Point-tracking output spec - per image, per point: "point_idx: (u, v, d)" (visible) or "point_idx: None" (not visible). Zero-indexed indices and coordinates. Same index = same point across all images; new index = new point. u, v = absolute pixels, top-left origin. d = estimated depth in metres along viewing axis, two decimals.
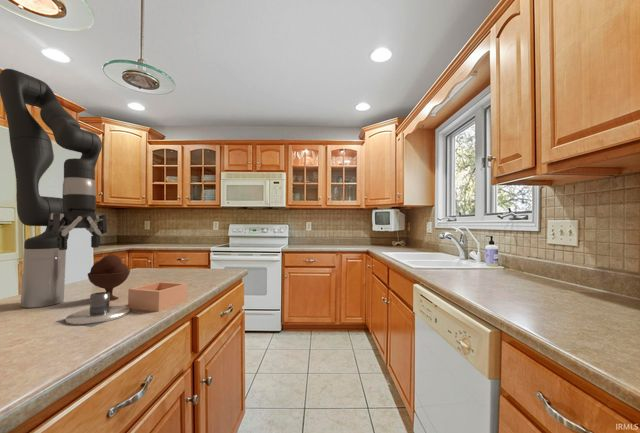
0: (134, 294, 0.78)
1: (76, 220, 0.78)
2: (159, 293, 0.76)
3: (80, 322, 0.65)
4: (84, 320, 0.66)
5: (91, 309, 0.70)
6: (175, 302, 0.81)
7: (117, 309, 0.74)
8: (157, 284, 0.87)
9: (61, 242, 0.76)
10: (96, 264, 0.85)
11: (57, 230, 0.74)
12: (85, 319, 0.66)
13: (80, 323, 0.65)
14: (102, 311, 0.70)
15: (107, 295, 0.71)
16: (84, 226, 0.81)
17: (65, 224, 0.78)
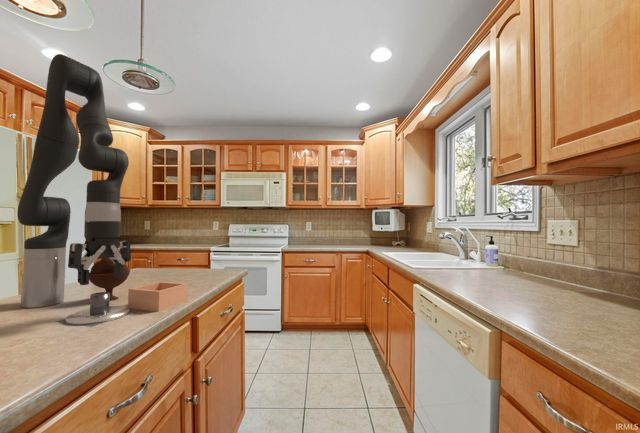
0: (134, 294, 0.78)
1: (99, 250, 0.70)
2: (159, 293, 0.76)
3: (80, 322, 0.65)
4: (84, 320, 0.66)
5: (91, 309, 0.70)
6: (175, 302, 0.81)
7: (117, 309, 0.74)
8: (157, 284, 0.87)
9: (83, 276, 0.67)
10: (96, 264, 0.85)
11: (79, 264, 0.66)
12: (85, 319, 0.66)
13: (80, 323, 0.65)
14: (102, 311, 0.70)
15: (107, 295, 0.71)
16: (107, 256, 0.72)
17: (87, 254, 0.69)
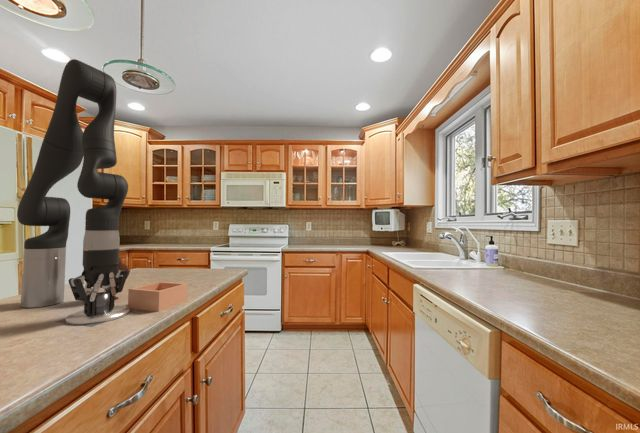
0: (134, 294, 0.78)
1: (99, 280, 0.70)
2: (159, 293, 0.76)
3: (80, 322, 0.65)
4: (84, 320, 0.66)
5: None
6: (175, 302, 0.81)
7: (117, 309, 0.74)
8: (157, 284, 0.87)
9: (89, 308, 0.68)
10: None
11: (85, 296, 0.67)
12: (85, 319, 0.66)
13: (80, 323, 0.65)
14: (102, 311, 0.70)
15: (107, 295, 0.71)
16: (105, 284, 0.72)
17: (88, 284, 0.70)
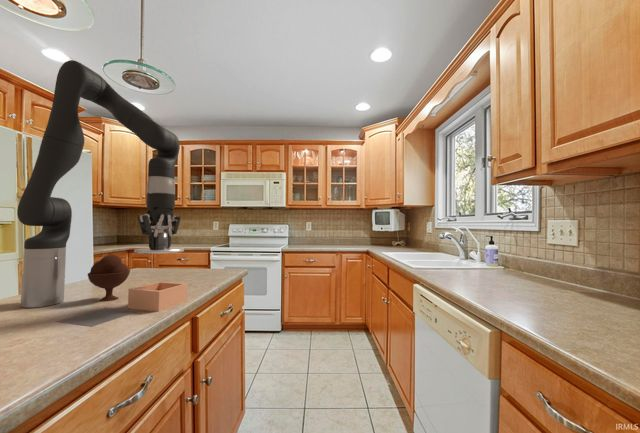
0: (134, 294, 0.78)
1: (160, 219, 0.81)
2: (159, 293, 0.76)
3: (148, 251, 0.76)
4: (151, 250, 0.77)
5: None
6: (175, 302, 0.81)
7: (173, 248, 0.86)
8: (157, 284, 0.87)
9: (153, 242, 0.80)
10: (96, 264, 0.85)
11: (151, 231, 0.78)
12: (151, 250, 0.78)
13: (148, 252, 0.76)
14: (163, 246, 0.82)
15: (166, 234, 0.83)
16: (164, 224, 0.83)
17: (151, 223, 0.81)
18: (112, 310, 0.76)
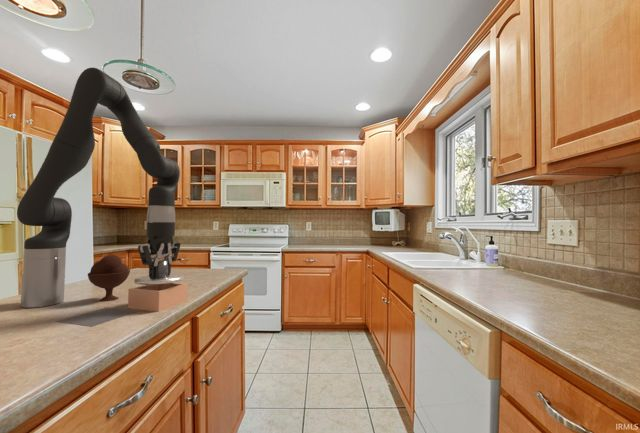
0: (134, 294, 0.78)
1: (160, 248, 0.81)
2: (159, 293, 0.76)
3: (149, 282, 0.76)
4: (151, 281, 0.77)
5: None
6: (175, 302, 0.81)
7: (173, 275, 0.86)
8: (157, 284, 0.87)
9: (153, 272, 0.80)
10: (96, 264, 0.85)
11: (151, 261, 0.78)
12: (152, 280, 0.78)
13: (149, 283, 0.76)
14: (163, 275, 0.82)
15: (167, 262, 0.83)
16: (164, 252, 0.83)
17: (151, 252, 0.81)
18: (112, 310, 0.76)
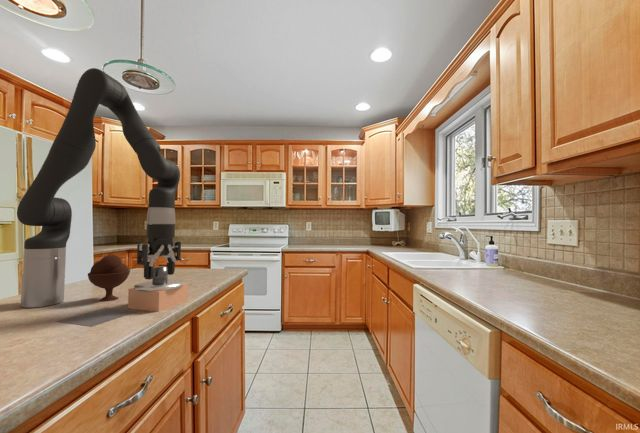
0: (134, 294, 0.78)
1: (160, 249, 0.81)
2: (159, 293, 0.76)
3: (148, 289, 0.76)
4: (151, 287, 0.77)
5: (154, 279, 0.81)
6: (175, 302, 0.81)
7: (173, 281, 0.86)
8: None
9: (148, 272, 0.78)
10: (96, 264, 0.85)
11: (146, 261, 0.77)
12: (151, 287, 0.78)
13: (148, 290, 0.76)
14: (163, 281, 0.82)
15: (166, 268, 0.83)
16: (164, 254, 0.83)
17: (149, 253, 0.81)
18: (112, 310, 0.76)
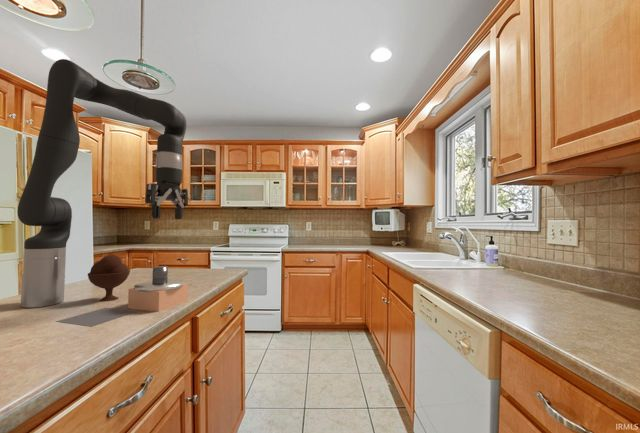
0: (134, 294, 0.78)
1: (167, 192, 0.84)
2: (159, 293, 0.76)
3: (148, 289, 0.76)
4: (151, 287, 0.77)
5: (154, 279, 0.81)
6: (175, 302, 0.81)
7: (173, 281, 0.86)
8: None
9: (156, 211, 0.81)
10: (96, 264, 0.85)
11: (154, 200, 0.80)
12: (151, 287, 0.78)
13: (148, 290, 0.76)
14: (163, 281, 0.82)
15: (166, 268, 0.83)
16: (172, 198, 0.87)
17: (157, 195, 0.84)
18: (112, 310, 0.76)
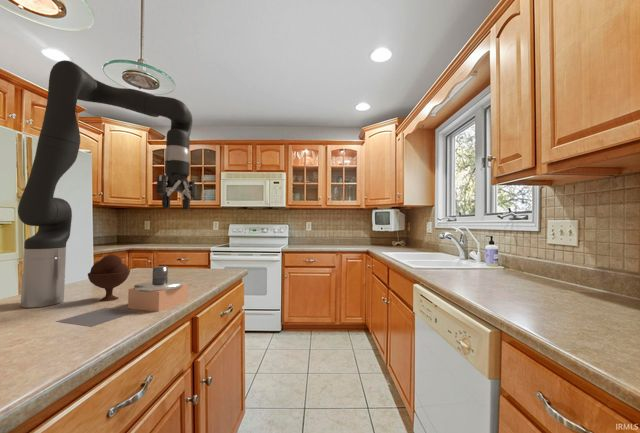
0: (134, 294, 0.78)
1: (176, 183, 0.89)
2: (159, 293, 0.76)
3: (148, 289, 0.76)
4: (151, 287, 0.77)
5: (154, 279, 0.81)
6: (175, 302, 0.81)
7: (173, 281, 0.86)
8: None
9: (166, 201, 0.87)
10: (96, 264, 0.85)
11: (164, 190, 0.86)
12: (151, 287, 0.78)
13: (148, 290, 0.76)
14: (163, 281, 0.82)
15: (166, 268, 0.83)
16: (180, 189, 0.92)
17: (167, 186, 0.89)
18: (112, 310, 0.76)
